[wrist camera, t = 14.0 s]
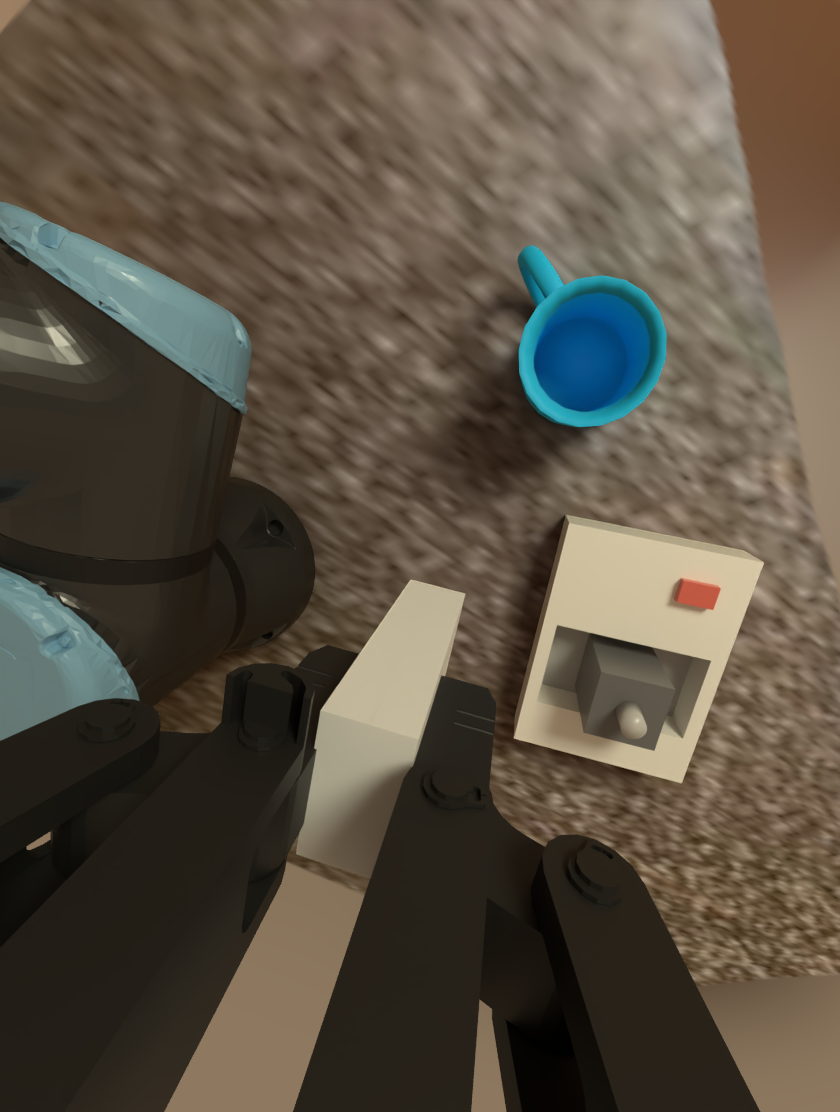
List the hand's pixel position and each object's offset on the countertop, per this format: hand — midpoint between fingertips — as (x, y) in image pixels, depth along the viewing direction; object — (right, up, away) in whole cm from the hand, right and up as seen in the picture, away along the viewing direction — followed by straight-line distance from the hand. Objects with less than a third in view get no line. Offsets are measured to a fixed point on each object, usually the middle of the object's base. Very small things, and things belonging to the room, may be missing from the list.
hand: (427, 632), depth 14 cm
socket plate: (+16, -5, +28) cm, 32 cm away
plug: (+15, -7, +28) cm, 33 cm away
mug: (+10, +17, +24) cm, 31 cm away
